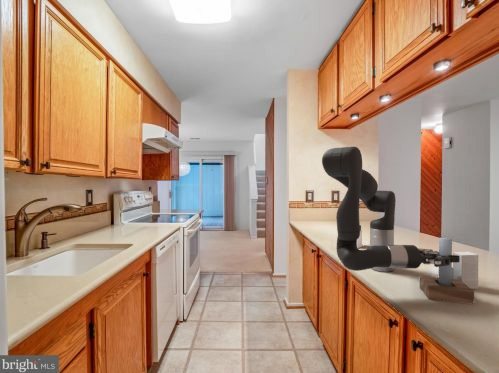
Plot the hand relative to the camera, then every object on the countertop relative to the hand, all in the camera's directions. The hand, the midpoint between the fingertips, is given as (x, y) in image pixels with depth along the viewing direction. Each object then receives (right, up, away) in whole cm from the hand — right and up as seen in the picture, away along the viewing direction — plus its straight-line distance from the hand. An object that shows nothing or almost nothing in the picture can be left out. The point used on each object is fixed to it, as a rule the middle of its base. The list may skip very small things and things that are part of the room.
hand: (454, 257), depth 89 cm
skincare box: (+9, -13, +7) cm, 17 cm away
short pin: (+3, -12, +7) cm, 15 cm away
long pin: (-3, -10, 0) cm, 10 cm away
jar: (-9, -11, +64) cm, 66 cm away
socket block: (-3, -13, +1) cm, 13 cm away
